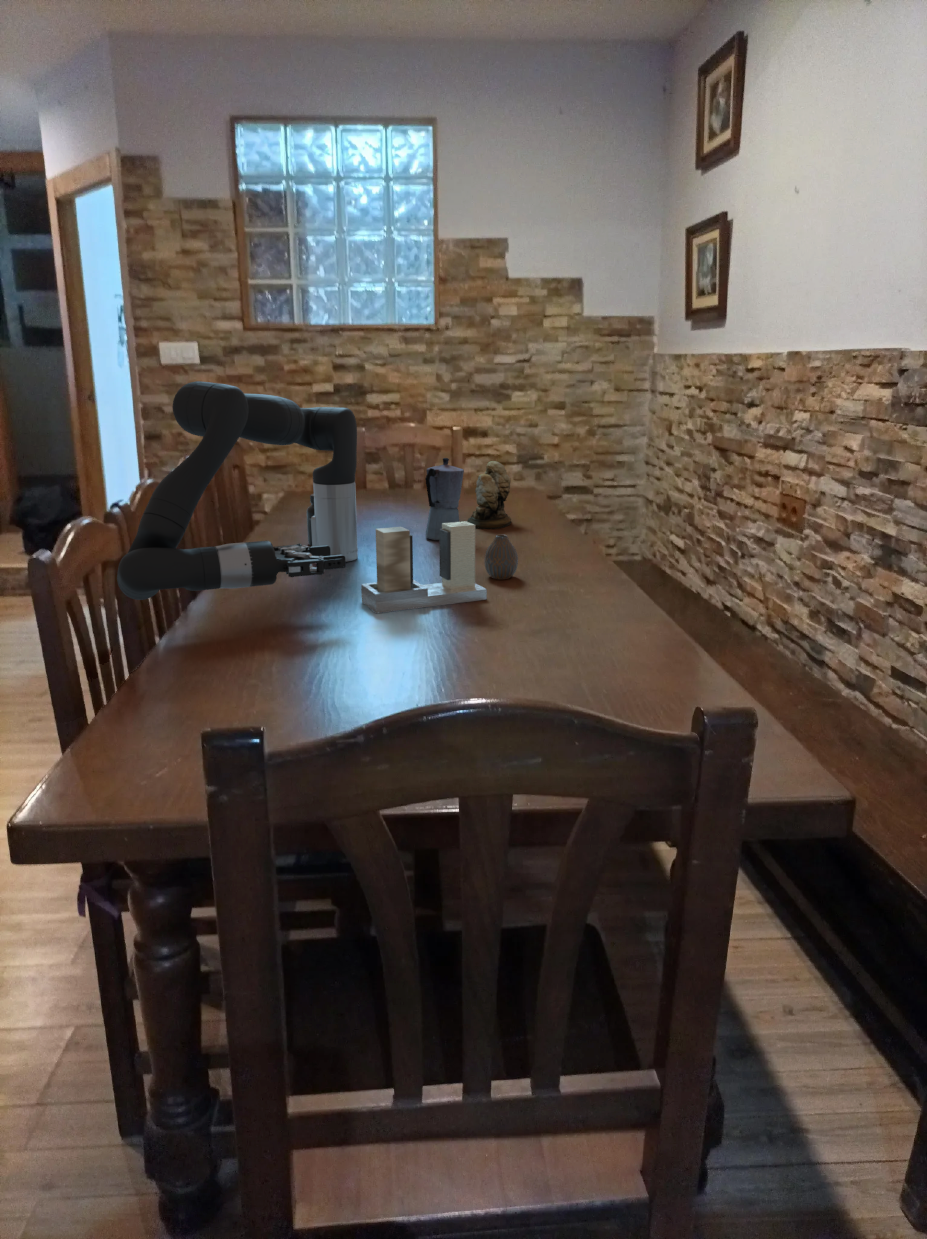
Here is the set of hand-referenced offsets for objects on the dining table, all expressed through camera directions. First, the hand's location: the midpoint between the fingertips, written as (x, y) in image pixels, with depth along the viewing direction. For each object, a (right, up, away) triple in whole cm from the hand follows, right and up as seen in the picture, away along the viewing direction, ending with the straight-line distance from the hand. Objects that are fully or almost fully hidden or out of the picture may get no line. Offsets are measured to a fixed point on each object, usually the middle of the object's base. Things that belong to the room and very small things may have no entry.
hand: (337, 556), depth 152 cm
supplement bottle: (-12, +7, +59) cm, 60 cm away
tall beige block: (+9, -6, +7) cm, 13 cm away
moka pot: (+17, +9, +65) cm, 68 cm away
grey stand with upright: (+15, -8, +10) cm, 20 cm away
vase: (+30, -3, +28) cm, 41 cm away
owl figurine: (+29, +15, +86) cm, 92 cm away
